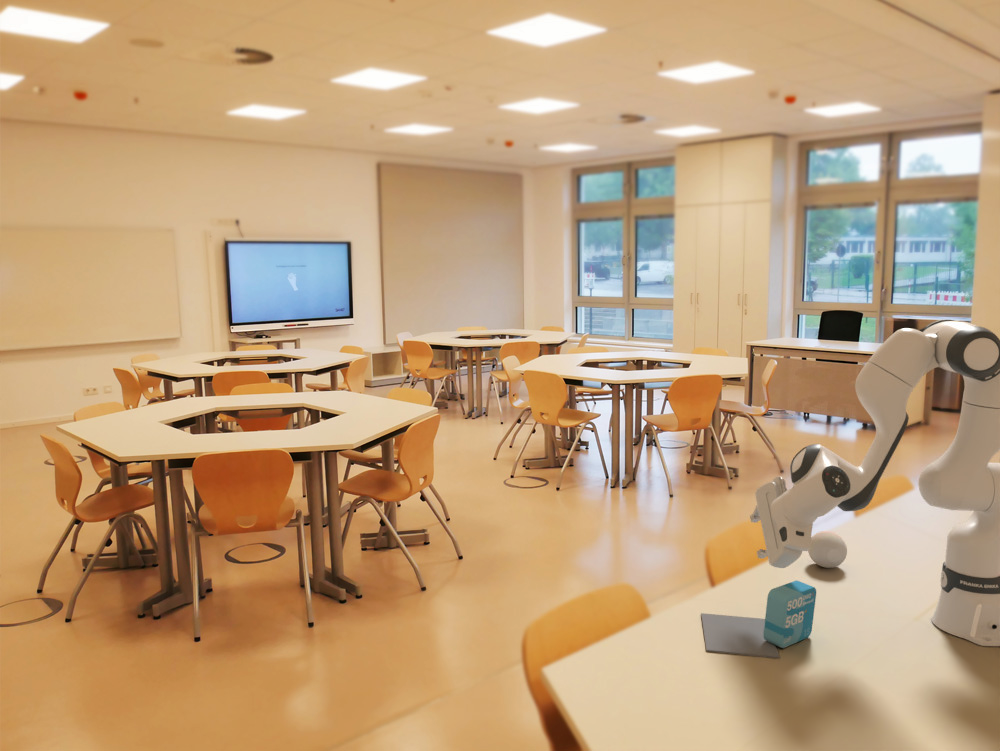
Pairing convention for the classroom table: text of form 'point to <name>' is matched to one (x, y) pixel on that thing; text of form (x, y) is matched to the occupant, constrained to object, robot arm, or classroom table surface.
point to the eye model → (827, 549)
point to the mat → (737, 636)
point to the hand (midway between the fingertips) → (756, 537)
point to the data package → (789, 613)
